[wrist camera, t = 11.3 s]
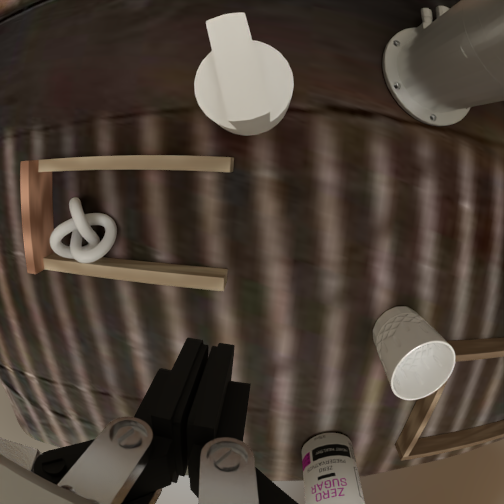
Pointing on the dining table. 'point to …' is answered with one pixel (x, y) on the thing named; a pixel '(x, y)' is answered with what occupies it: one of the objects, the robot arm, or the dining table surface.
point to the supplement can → (330, 471)
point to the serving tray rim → (409, 437)
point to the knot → (83, 235)
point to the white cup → (412, 353)
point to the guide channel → (43, 257)
